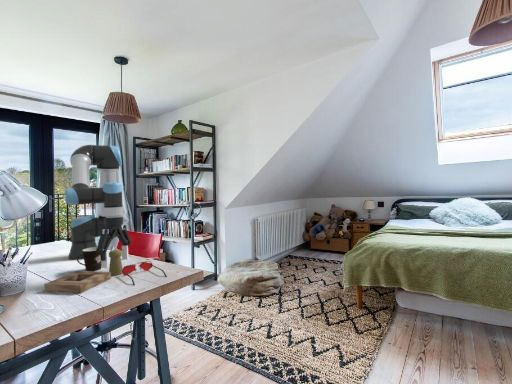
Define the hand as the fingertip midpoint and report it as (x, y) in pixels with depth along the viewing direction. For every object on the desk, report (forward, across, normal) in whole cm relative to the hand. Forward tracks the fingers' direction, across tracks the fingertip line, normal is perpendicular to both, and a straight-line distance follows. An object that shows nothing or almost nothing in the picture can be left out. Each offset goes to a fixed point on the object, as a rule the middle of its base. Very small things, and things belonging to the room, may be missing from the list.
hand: (115, 263), depth 123 cm
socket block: (+5, +14, -6) cm, 16 cm away
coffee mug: (+5, -4, -17) cm, 18 cm away
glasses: (+6, +2, +15) cm, 16 cm away
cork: (+5, 0, 0) cm, 5 cm away
